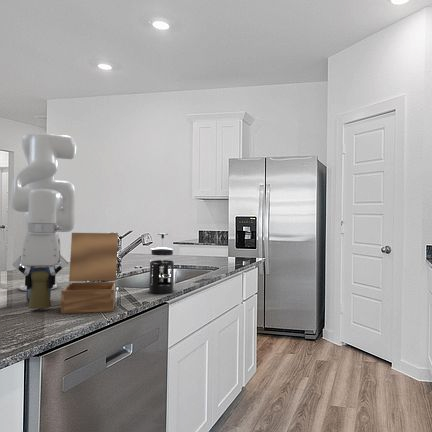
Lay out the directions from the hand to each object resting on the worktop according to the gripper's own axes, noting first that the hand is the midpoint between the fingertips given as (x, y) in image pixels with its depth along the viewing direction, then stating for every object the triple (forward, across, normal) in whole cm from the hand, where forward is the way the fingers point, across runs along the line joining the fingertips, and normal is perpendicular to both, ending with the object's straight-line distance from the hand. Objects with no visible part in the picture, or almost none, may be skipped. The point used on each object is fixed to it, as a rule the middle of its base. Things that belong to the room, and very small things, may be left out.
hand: (40, 287), depth 132 cm
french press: (+7, -37, -25) cm, 45 cm away
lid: (-8, -14, -11) cm, 20 cm away
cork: (+6, 0, 0) cm, 6 cm away
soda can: (+7, +3, -12) cm, 15 cm away
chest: (+7, -14, -2) cm, 16 cm away
